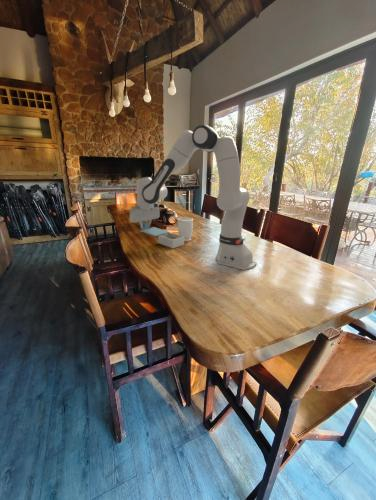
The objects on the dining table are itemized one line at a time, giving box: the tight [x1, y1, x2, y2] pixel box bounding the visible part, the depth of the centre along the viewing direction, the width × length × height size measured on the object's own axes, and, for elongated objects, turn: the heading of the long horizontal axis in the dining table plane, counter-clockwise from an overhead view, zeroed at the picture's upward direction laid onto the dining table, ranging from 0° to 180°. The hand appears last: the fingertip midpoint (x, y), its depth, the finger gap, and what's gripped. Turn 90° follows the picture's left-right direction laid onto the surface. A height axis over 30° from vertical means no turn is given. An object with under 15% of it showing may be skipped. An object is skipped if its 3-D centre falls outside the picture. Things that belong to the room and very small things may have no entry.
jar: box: [177, 216, 194, 242], centre depth 162 cm, size 11×10×15 cm
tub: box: [157, 232, 185, 249], centre depth 153 cm, size 14×10×6 cm
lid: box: [139, 221, 171, 238], centre depth 142 cm, size 19×11×4 cm, turn 46°
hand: (145, 227), depth 147 cm, fingers closed on lid, 3 cm apart
